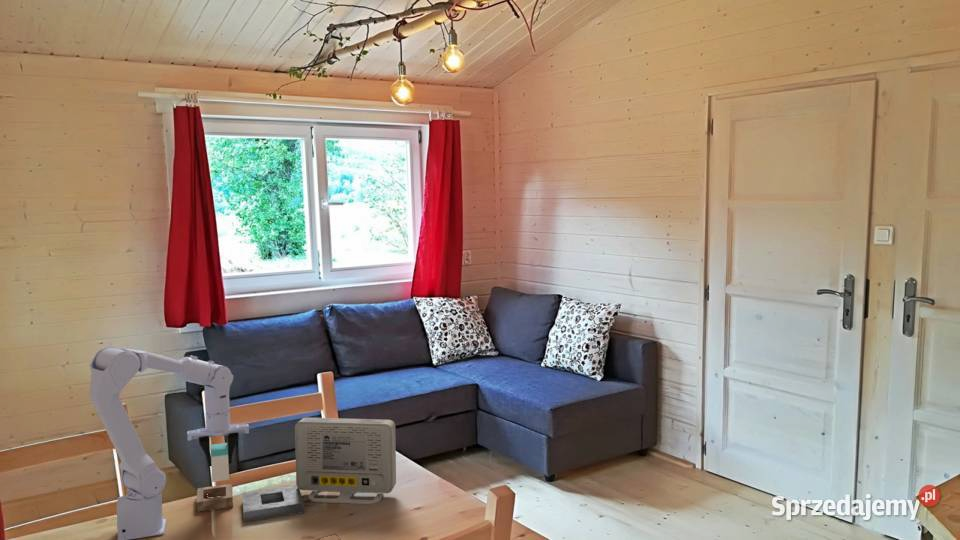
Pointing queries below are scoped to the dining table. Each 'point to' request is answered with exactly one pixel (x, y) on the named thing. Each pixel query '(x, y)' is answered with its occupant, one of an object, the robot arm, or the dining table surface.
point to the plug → (219, 462)
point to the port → (287, 507)
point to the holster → (214, 502)
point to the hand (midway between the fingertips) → (219, 463)
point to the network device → (345, 457)
